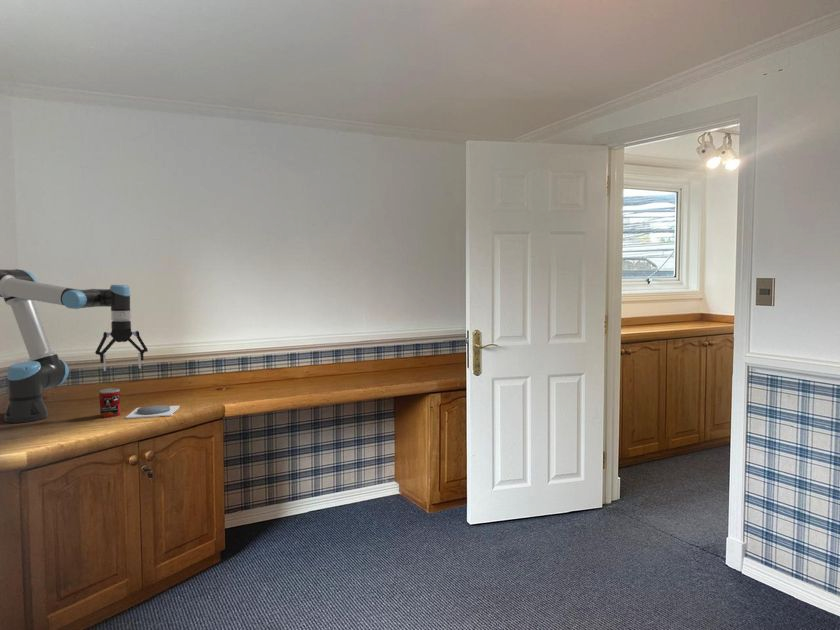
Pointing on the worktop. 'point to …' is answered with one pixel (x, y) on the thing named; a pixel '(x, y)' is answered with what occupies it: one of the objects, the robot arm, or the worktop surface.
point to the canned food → (109, 402)
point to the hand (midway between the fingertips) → (122, 369)
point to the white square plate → (153, 411)
